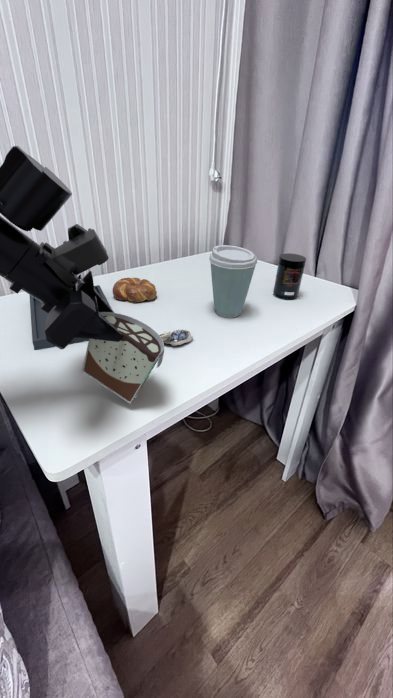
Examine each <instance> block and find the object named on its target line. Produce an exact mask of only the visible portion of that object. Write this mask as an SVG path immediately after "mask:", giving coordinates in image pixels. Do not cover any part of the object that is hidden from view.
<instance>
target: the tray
mask: <svg viewBox="0 0 393 698" xmlns="http://www.w3.org/2000/svg"><path fill="white" fill-rule="evenodd" d="M94 288H95V289H96V291H97V292H98V293H99V294H100V296H101V297H102V298H103V299H104V301H105V302H106V303H107V304H108V305H109V307H110V308H111V309H112V306H111V305H110V303H109V301H108V299H107V297H106V295H105V293H104V291H103V289H102V287H101V285H100V284H96V285H94ZM28 295H29V294H28ZM41 305H42V302H40V301H39V300H37V299H36V298H34V297H32V296H31V295H29V309H30V322H31V323H30V325H31V340H32V341H31V342H32V346H33V349H34V351H38V350H43V349H49V348H54V347H56V346H54V345H52V344H51V343H49V342H47V339H46V335H45V324H46V318H47V316H48V315H49V314H50V313H51V312H52V311H53V310H54V309H55V307H56V306H54V307H53V308H52V310H51V311H50V312H49V313H47V312H45V311H44V310H42V309H41ZM84 342H89V339H86V338H74V339H73V340H72V341H71V342H70V343H69V344H68V345H73V344H77V343H84Z"/></svg>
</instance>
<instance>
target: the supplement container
mask: <svg viewBox="0 0 393 698" xmlns="http://www.w3.org/2000/svg"><path fill="white" fill-rule="evenodd" d="M277 261H278V263H277V268H276V274H275V278H274V279H275V280H274V285H273V291H272V292H273V295H274V296H275V297H276V298H278V299H281V300H294V299H296V298H298V296H299V293H300V289H301V284H302V279H303V276H304V271H305V266H306V262H307V258H306V256H304V255H301V254H297V253H288V252H287V253H281V254H280V255H279V257H278V260H277Z"/></svg>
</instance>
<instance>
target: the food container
mask: <svg viewBox="0 0 393 698" xmlns="http://www.w3.org/2000/svg"><path fill="white" fill-rule="evenodd" d="M99 313H100V314H101V315H103V316H104V317H105V318H106V319H107V320H108V321H109V322H110V323H111V324H112V325H113V326H114V327H115V328H116V329H117V330H118V331H119V332H120V333H121V334H122V335H123V338H122V339H121V340H120V341H119V342H114V341H105V340H97V339H89V341H87V342H88V343H87V346H86V351H85V355H84V360H83V365H82V369H81V372H82V373H83V374H85V375H87V376H88V377H90V378H91V379H92V380H93V381H95V382H97V383H98V384H100V385H101V386H103V387H104V388H106V389H107V390H109V391H110V392H111V393H113V394H114V395H116V396H118V397H119V398H120V399H122V400H123V401H125V402H126V403H127V404H129V405H131V404H132V403H133V402H134V401H135V399H136V398H137V396H138V394H139V393H140V391H141V390H142V388H143V387H144V385H145V383H146V381H147V380H148V378H149V376H150V374H151V373H152V371H153V370H154V368H155V366H156V368H157V369H158V368H160V366H161V364H162V363H163V359H164V353H165V342H163V340H162V339H161V337H160V336H159V335H160V334H159V333H158V332H157V331H156V330H155V329H153V328H152V327H151V326H149V325H148V324H146V323H145V322H143V321H141V320H138V319H137V318H134V317H132V316H129V315H126V314H122V313H119V312H114V313H112V312H99Z"/></svg>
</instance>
